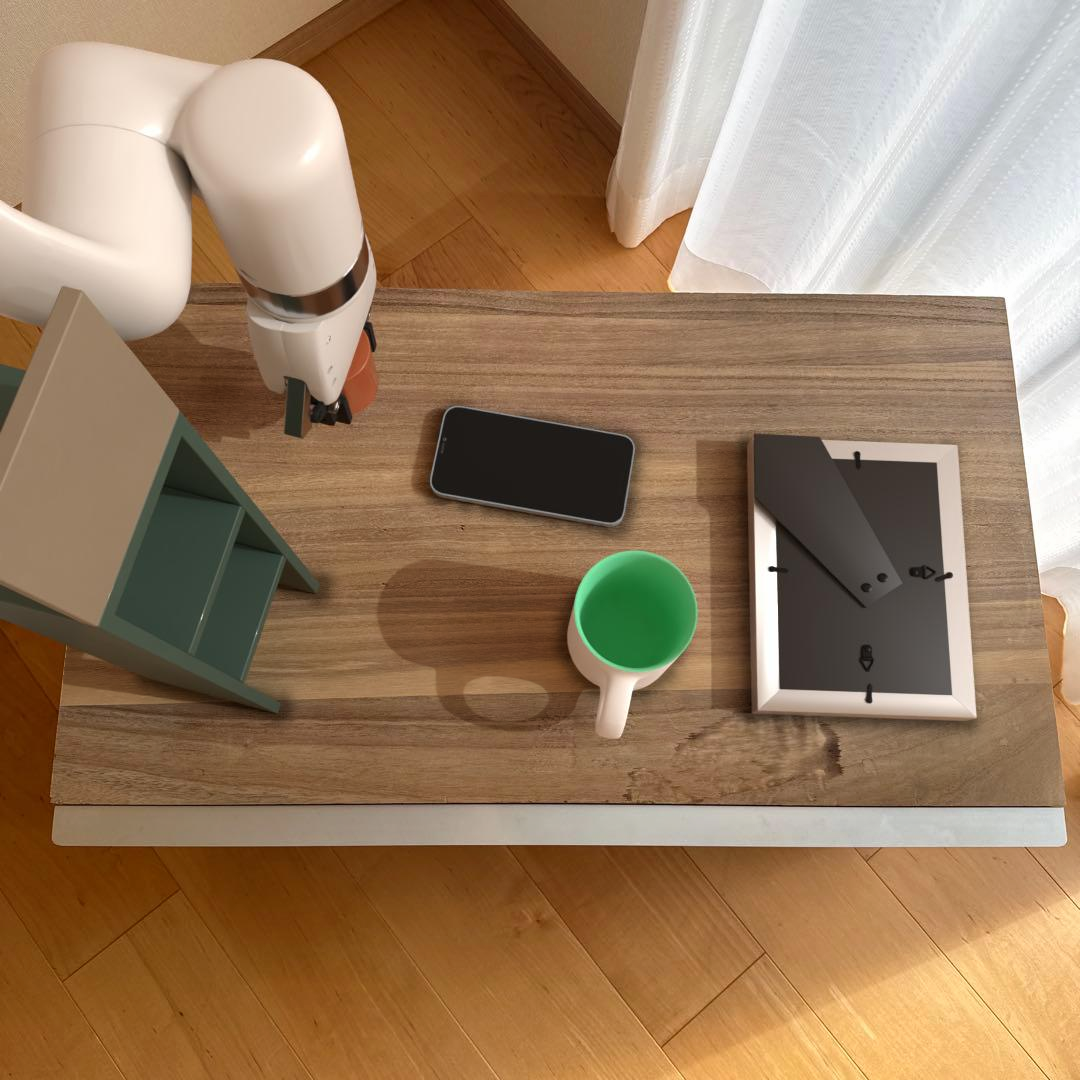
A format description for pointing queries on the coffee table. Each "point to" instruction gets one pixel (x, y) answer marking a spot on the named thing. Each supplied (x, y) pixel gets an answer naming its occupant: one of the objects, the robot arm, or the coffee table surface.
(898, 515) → the picture frame
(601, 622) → the mug
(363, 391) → the canister
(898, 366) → the coffee table surface
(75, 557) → the shelf
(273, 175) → the robot arm
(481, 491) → the smartphone
